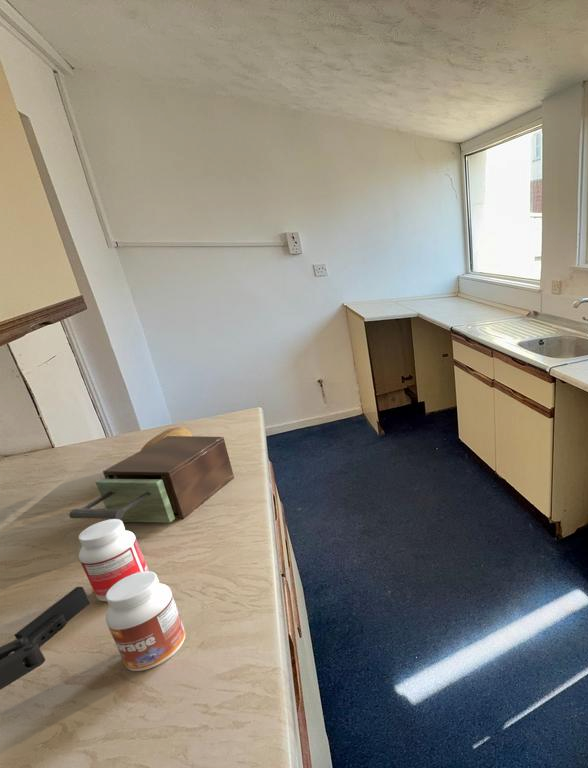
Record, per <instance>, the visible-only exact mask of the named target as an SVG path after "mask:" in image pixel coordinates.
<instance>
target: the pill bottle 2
mask: <svg viewBox="0 0 588 768" xmlns="http://www.w3.org/2000/svg"><path fill="white" fill-rule="evenodd" d="M106 600H107V601H106V603H107V605H108V609H107V611H106V614H105V622H106V624H107V627H108V629H109V632H110V634H111V636H112V638H113V641H114V643H115V646H116V648H117V650H118V652H119V655H120V657H121V660H122V661H123V664H124V666H125V667H126V669H128V670H130V671H132V672H142V671H145V670H149V669H152V668H155V667H157V666H159V665H161V664H163V663H164V662H166V661H168V660H169V659H170V658H171V657H172V656H174V655H175V654H176V653H177V652H178V651H179V649H180V648H181V647H182V645H183V643H184V642H185V639H186V631H185V627H184V623H183V621H182V619H181V616H180V612H179V610H178V608H177V604H176V601H175V599H174V596H173V592H172V590H171V588H170V587H169V586H168V585H166V584H164V583H160V580H159V578H158V576H157V574H156V573H155V572H153V571H151V570H149V571H143V572H138V573H135V574H132V575H130V576H127V577H125V578H123V579H122V580H120V581H118V582H117V583H115V584H114V585H113V586H112V587H111V588H110V589H109V590H108V592H107V594H106Z"/></svg>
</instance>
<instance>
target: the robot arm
mask: <svg viewBox="0 0 588 768" xmlns="http://www.w3.org/2000/svg"><path fill="white" fill-rule="evenodd" d="M90 604H91V602H90V600H89V597H88V595H87V593H86V590H85V589H84V586H76V587H74V588H73V589H72V590H71V591H70V592H68V593H67V594H65V595H64V596H63V597H61V598H60V599H59V600H58V601H56V602H55V603H54V604H52V605H51V606H50V607H49V608H47V609H46V610H45V611H43V612H42V613H41V614H39V615H38V616H37V617H35V618H34V619H33V620H32V621H30V622H29V623H28V624H26V625H25V626H23V628H21V629H20V630H18V631H17V632H16V633H15V634H14V637H15V639H14V640H13V641H10V642H9V643H6V644H4V645H2V646H0V691H1V690H3V689H4V688H6V687H7V686H9V685H11V684H12V683H14V682H16V681H17V680H19V679H21V678H23V677H24V676H26V675H27V674H29V673H31V672H32V671H34V670H36V669H37V668H38V667H41V666H43V664H44V663H45V661H46V658H45V656H44V654H43V652H42V650H41V647H43V646H44V645H45V644H46V643H47V642H48V641H49V640H51V639H52V638H53V637H54V636H55V635H56V634H58V633H59V632H60V631H61V630H62V629H64V628H65V627H66V625H67V624H68V622H70V621H71V620H72V619H73V618H74V617H76V616H77V615H78V614H79V613H80V612H81V611H83V610H85V608H87V607H88V606H89V605H90Z"/></svg>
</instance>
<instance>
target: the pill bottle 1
mask: <svg viewBox="0 0 588 768" xmlns="http://www.w3.org/2000/svg"><path fill="white" fill-rule="evenodd" d="M78 540H79V543H80V545H81V548H80V549H79V551H78V560H79V562H80V564H81V567H82V568H83V571H84V573H85V575H86V577H87V579H88V582H89V584H90V587H91V588H92V590H93V593H94V595H95V596H96V599H98V600H99V601H102V602H107V600H106V594H107V592H108V590H109V589H110V588H111V587H112V586H113V585H114V584H115V583H117V582H118V581H120V580H122V579H123V578H125V577H127V576H130V575H132V574H135V573H138V572H143V571H150V570H149V568H148V566H147V563H146V560H145V557H144V556H143V553H142V550H141V547H140V545H139V542H138V540H137V537H136V535H135V534H134V533H133V532H132V531H130V530H126V527H125V524H124V522H122V521H121V520H119V519H104V520H102V521H99V522H96V523H94V524H91V525H90V526H88V527H86V528H85V529H83V530H82V531H81V532H80V533H79V535H78Z"/></svg>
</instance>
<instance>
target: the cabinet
mask: <svg viewBox="0 0 588 768" xmlns="http://www.w3.org/2000/svg"><path fill="white" fill-rule="evenodd" d="M102 473H103V476H104V479H114V477H113V475H159V476H166V478H167V481H168V484H169V487H170V490H171V493H172V496H173V499H174V502H175V505H176V508H177V511H178V512H177V513H174V516H175V519H174V520H184V519H186V518H187V517H188V516H190V515H191V514H192V513H193V512H194V511H196V510H197V509H198V508H199V507H200V506H202V505H203V504H204V503H205V502H207V501H208V500H209V499H210V498H212V497H213V496H214V495H215V494H217V493H218V492H219V491H220V490H221V489H222V488H224V487H225V486H226V485H228V483H230V482H231V481H232V480H234V478H235V475H234V472H233V468H232V464H231V460H230V457H229V453H228V448H227V445H226V441H225V438H224V436H202V435H201V436H198V435H197V436H196V435H195V436H193V435H192V436H167V437H165V438H163V439H161V440H160V441H158V442H156V443H154V444H152V445H150V446H149V447H147V448H145V449H143V450H141V449H140V450H139V451H137V452H136V453H134V454H132V455H130V456H128V457H127V458H124V459H123V460H121V461H119V462H117V463H115V464H113V465H112V466H110V467H108V468H106V469H104V470H103V471H102Z"/></svg>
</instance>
